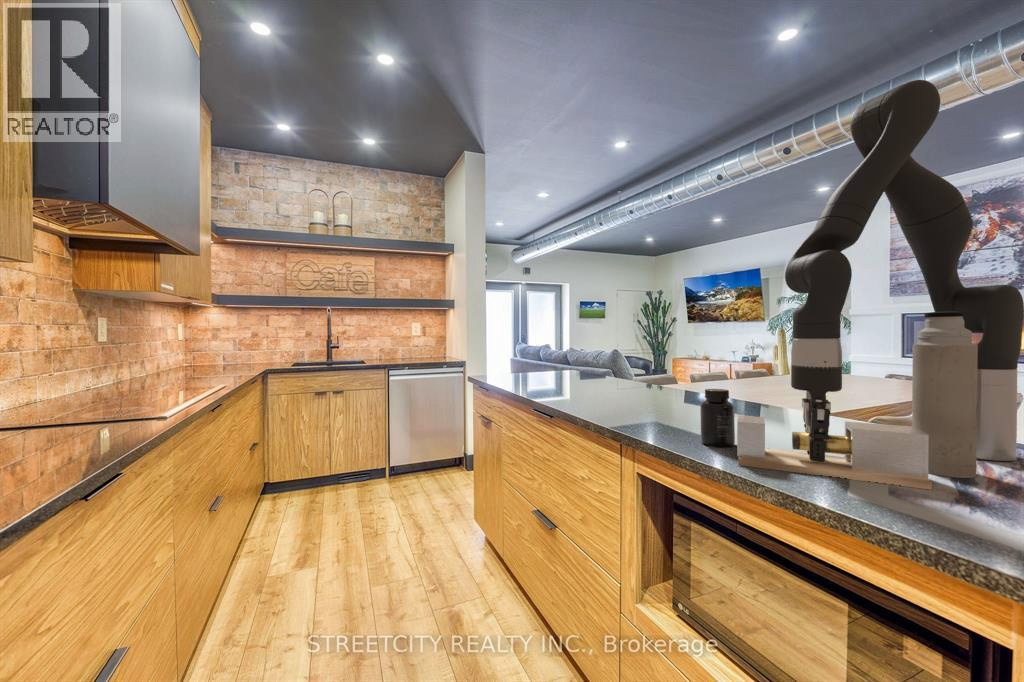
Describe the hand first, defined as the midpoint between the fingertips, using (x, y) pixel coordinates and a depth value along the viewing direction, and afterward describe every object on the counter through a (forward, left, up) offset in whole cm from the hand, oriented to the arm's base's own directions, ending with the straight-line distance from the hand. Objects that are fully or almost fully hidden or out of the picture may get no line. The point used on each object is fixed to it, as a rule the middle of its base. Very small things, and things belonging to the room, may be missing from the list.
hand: (815, 457), depth 77 cm
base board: (0, +1, -2) cm, 2 cm away
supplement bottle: (-10, -17, -2) cm, 20 cm away
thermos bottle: (-8, +19, -2) cm, 21 cm away
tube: (0, +5, +1) cm, 5 cm away
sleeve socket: (0, +1, -1) cm, 1 cm away
